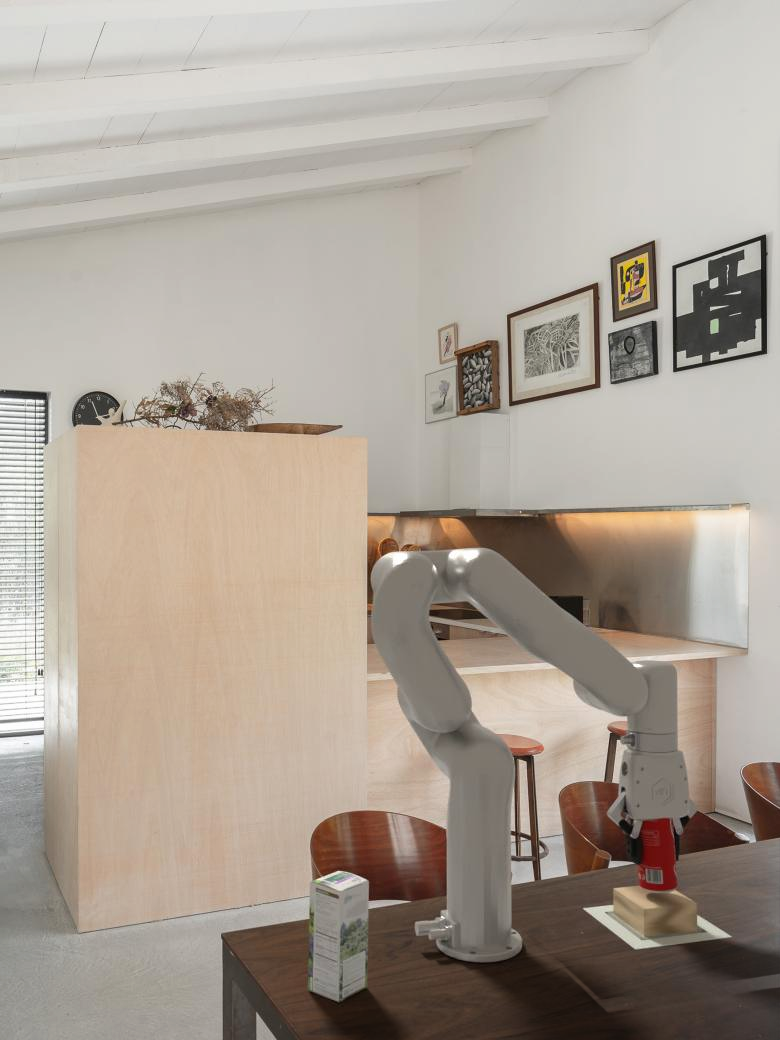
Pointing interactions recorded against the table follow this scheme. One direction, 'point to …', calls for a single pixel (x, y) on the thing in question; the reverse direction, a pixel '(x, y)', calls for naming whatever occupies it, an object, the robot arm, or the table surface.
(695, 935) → the board
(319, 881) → the syrup box
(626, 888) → the oak block
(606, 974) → the table surface
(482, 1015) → the table surface
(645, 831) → the beverage can
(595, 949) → the table surface
